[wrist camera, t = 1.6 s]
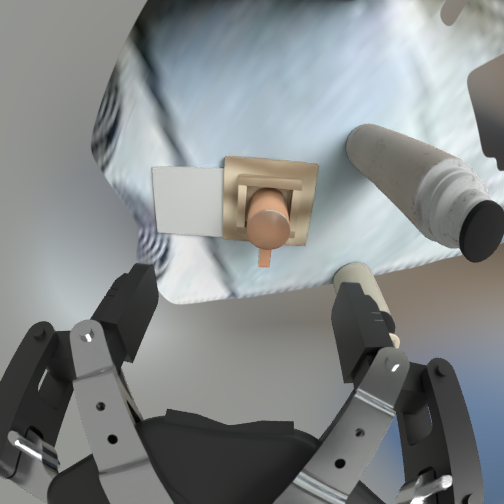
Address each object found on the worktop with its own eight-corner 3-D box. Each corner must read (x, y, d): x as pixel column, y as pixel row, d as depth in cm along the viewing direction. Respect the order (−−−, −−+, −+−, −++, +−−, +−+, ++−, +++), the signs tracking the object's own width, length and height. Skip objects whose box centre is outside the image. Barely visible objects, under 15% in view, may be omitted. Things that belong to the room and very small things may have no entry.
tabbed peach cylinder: (251, 185, 41) (247, 209, 33) (288, 188, 41) (293, 213, 33) (247, 241, 46) (243, 273, 38) (280, 243, 46) (283, 276, 38)
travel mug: (330, 266, 49) (352, 341, 34) (370, 257, 48) (404, 327, 32) (334, 297, 53) (352, 370, 38) (371, 288, 52) (398, 358, 36)
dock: (226, 155, 39) (222, 160, 37) (317, 164, 39) (321, 169, 37) (223, 235, 47) (221, 245, 44) (304, 242, 47) (306, 252, 44)
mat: (153, 166, 41) (152, 167, 40) (225, 168, 40) (225, 169, 40) (158, 230, 47) (157, 232, 47) (223, 235, 47) (223, 237, 46)
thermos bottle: (380, 116, 34) (517, 168, 10) (397, 161, 38) (516, 254, 14) (337, 134, 36) (443, 208, 13) (356, 179, 40) (450, 295, 16)
